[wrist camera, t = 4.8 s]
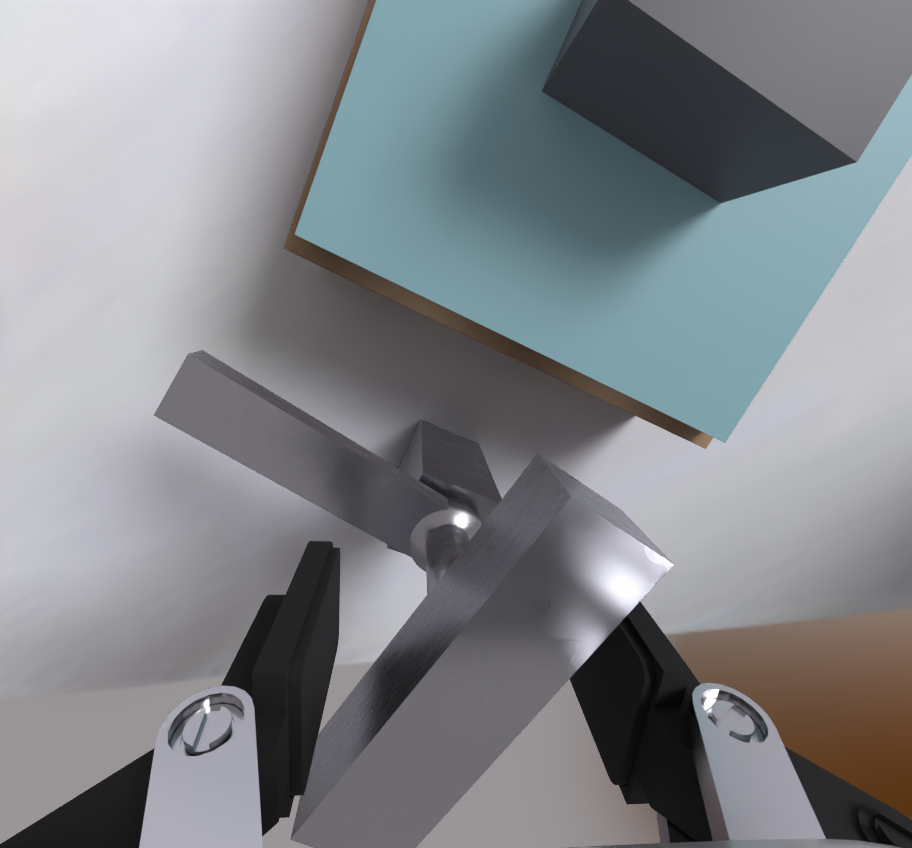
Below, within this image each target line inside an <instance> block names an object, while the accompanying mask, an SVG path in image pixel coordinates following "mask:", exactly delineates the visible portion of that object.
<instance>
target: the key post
mask: <svg viewBox="0 0 912 848" xmlns="http://www.w3.org/2000/svg"><path fill="white" fill-rule="evenodd" d="M398 469H400V470H402V471H403V472H405V473H407V474H408V475H410V476H412V477H413V478H415V479H416V480H418V481H420V482H421V483H423V484H425V485H426V486H428V487H430V488H431V489H433V490H435V491H436V492H438V493H440V494H441V495H443V496H445V497H446V498H454V499H459V500H461V501H464V502H466V503H467V504H469V505H470V506H471V507H472V508H474V510H475V511H476V512H477V514H478V515H479V518H480V520H481V524H483V523H484V522H485V520H486V519H487V518H488V517H489V515H490V514H491V513H492V511H493V510H494V509H495V508H496V506H497V505H498V504H499V502H500V501H501V500H502V498H501V496H500V494H499V491H498V489H497V487H496V484H495V482H494V479H493V477H492V475H491V472H490V470H489V468H488V465H487V463H486V461H485V458H484V456H483V453H482V451H481V449H480V446H479V444H477V443H475V442H472V441H470V440H468V439H465V438H463V437H461V436H458V435H456V434H453V433H451V432H449V431H446V430H444V429H442V428H439V427H437V426H434V425H432V424H430V423H427V422H425V421H423V420H420V422H419V424H418V427H417V429H416V431H415V433H414V435H413V437H412V440H411V442H410V444H409V446H408V448H407V450H406V453H405V455H404V457H403V459H402V461H401V464H400V466H399V468H398ZM387 548H389V549H392V550H395V551H398V552H401V551H399V550H397V549H396V548H394V547H392V546H390V545H388V544H387ZM401 553H403V552H401ZM404 554H405V553H404Z"/></svg>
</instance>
